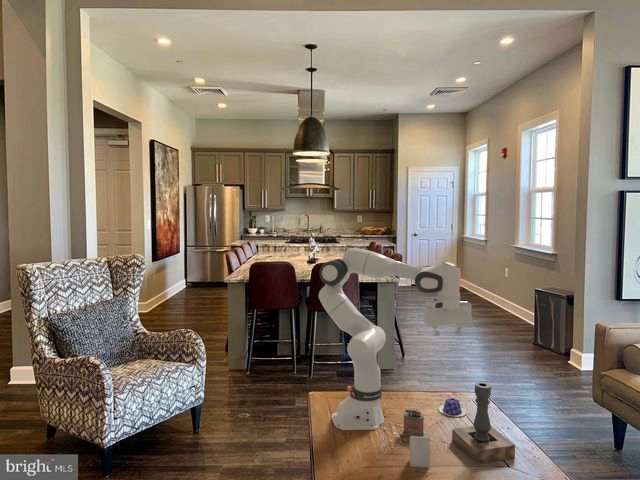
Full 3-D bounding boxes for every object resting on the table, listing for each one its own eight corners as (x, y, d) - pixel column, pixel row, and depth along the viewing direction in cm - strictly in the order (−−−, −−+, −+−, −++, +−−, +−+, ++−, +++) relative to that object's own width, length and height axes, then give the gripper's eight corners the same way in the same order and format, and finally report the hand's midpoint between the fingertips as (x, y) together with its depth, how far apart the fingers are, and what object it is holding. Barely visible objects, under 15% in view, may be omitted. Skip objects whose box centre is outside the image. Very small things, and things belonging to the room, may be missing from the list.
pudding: (447, 403, 206) (447, 392, 206) (471, 411, 197) (471, 400, 197) (433, 411, 198) (433, 400, 197) (458, 421, 189) (458, 409, 189)
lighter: (424, 433, 179) (424, 409, 178) (423, 437, 175) (423, 412, 175) (404, 430, 181) (404, 406, 180) (402, 434, 178) (402, 410, 177)
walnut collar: (475, 464, 157) (475, 450, 156) (452, 441, 172) (452, 428, 172) (514, 458, 160) (515, 445, 160) (488, 436, 176) (488, 423, 175)
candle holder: (491, 454, 163) (493, 388, 161) (474, 453, 164) (475, 387, 162) (489, 445, 169) (490, 382, 167) (472, 444, 170) (473, 381, 168)
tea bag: (429, 467, 155) (429, 440, 154) (410, 466, 156) (410, 439, 155) (428, 461, 159) (429, 435, 158) (409, 460, 160) (409, 433, 159)
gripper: (467, 299, 186) (466, 331, 188) (422, 301, 182) (421, 333, 183) (475, 302, 180) (474, 335, 182) (429, 304, 176) (428, 338, 177)
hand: (447, 334), depth 182 cm, fingers open, 8 cm apart
